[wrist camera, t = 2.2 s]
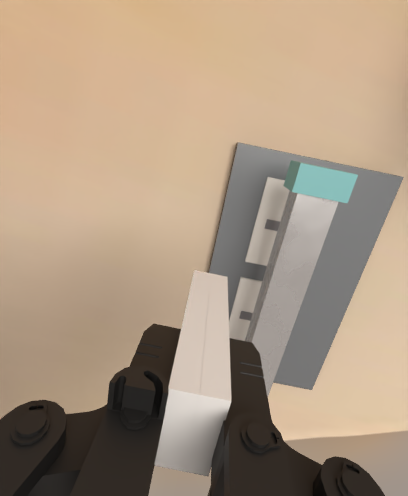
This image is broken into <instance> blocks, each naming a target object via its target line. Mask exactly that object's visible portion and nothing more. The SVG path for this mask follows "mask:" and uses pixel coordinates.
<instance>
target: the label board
mask: <svg viewBox="0 0 408 496" xmlns="http://www.w3.org/2000/svg"><path fill="white" fill-rule="evenodd" d="M291 160H292V161H297V162H302V163H307V164H312V165H316V166H321V167H326V168H331V169H336V170H340V171H345V172H349V173H353V174H357V175H358V177H357V179H356V182H355V185H354V187H353V190H352V193H351V195H350V198H349V201H348V203H343V202H338V205H337V208H336V211H335V213H334V216H333V219H332V222H331V224H330V227H329V230H328V233H327V235H326V238H325V241H324V244H323V246H322V249H321V252H320V255H319V257H318V260H317V263H316V266H315V268H314V271H313V274H312V277H311V279H310V282H309V285H308V288H307V290H306V293H305V296H304V299H303V301H302V304H301V307H300V310H299V312H298V315H297V318H296V321H295V323H294V326H293V329H292V332H291V334H290V337H289V340H288V343H287V345H286V348H285V351H284V354H283V356H282V359H281V362H280V365H279V367H278V370H277V373H276V376H275V378H274V381H273V382H274V383H279V384H284V385H289V386H294V387H299V388H304V389H309V390H312V389H313V386H314V384H315V382H316V379H317V377H318V375H319V372H320V370H321V368H322V365H323V363H324V361H325V358H326V356H327V354H328V351H329V349H330V347H331V344H332V342H333V340H334V337H335V335H336V333H337V331H338V328H339V326H340V324H341V321H342V319H343V317H344V314H345V312H346V310H347V307H348V305H349V303H350V300H351V298H352V296H353V293H354V291H355V289H356V286H357V284H358V282H359V280H360V277H361V275H362V273H363V270H364V268H365V266H366V263H367V261H368V259H369V256H370V254H371V252H372V249H373V247H374V245H375V242H376V240H377V238H378V235H379V233H380V231H381V228H382V226H383V224H384V222H385V219H386V217H387V215H388V212H389V210H390V208H391V205H392V203H393V201H394V198H395V196H396V194H397V191H398V189H399V187H400V184H401V182H402V180H403V177H401V176H396V175H391V174H386V173H382V172H377V171H372V170H367V169H362V168H358V167H353V166H348V165H343V164H339V163H334V162H329V161H324V160H319V159H315V158H310V157H305V156H300V155H295V154H291V153H286V152H281V151H276V150H272V149H267V148H262V147H257V146H252V145H248V144H243V143H237V147H236V152H235V156H234V161H233V165H232V170H231V174H230V179H229V183H228V188H227V192H226V197H225V201H224V206H223V210H222V215H221V219H220V224H219V228H218V233H217V237H216V242H215V246H214V251H213V255H212V260H211V264H210V269H209V273H211V274H216V275H221V276H226V277H227V280H228V311H229V338H232V339H237V340H242V341H245V338H246V335H247V331H248V328H249V325H250V321H251V318H252V315H253V311H254V308H255V304H256V301H257V298H258V294H259V291H260V288H261V284H262V281H263V278H264V274H265V271H266V268H267V264H268V261H269V258H270V254H271V251H272V248H273V244H274V241H275V238H276V234H277V231H278V227H279V224H280V221H281V217H282V214H283V211H284V207H285V204H286V201H287V197H288V194H289V191H290V190H289V189H287V188H286V187H284V182H285V179H286V175H287V172H288V168H289V165H290V162H291Z"/></svg>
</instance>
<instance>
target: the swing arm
mask: <svg viewBox="0 0 408 496" xmlns="http://www.w3.org/2000/svg"><path fill="white" fill-rule="evenodd" d="M357 177H358V175H357V174H353V173H349V172H345V171H340V170H336V169H331V168H326V167H321V166H316V165H312V164H307V163H302V162H297V161H292V160H291V162H290V165H289V168H288V172H287V175H286V179H285V182H284V187H286V188H287V189H289V190H290V191H289V194H288V197H287V201H286V204H285V207H284V211H283V214H282V217H281V221H280V224H279V227H278V231H277V234H276V238H275V241H274V244H273V248H272V251H271V254H270V258H269V261H268V264H267V268H266V271H265V274H264V278H263V281H262V284H261V288H260V291H259V294H258V298H257V301H256V304H255V308H254V311H253V315H252V318H251V321H250V325H249V328H248V331H247V335H246V338H245V341H247V342H252V343H253V344H254V346H255V347H256V349H257V350H258V352H259V353H260V357H261V363H262V369H263V374H264V380H265V386H266V392H267V397H268V395H269V392H270V389H271V386H272V384H273V381H274V378H275V376H276V373H277V370H278V367H279V365H280V362H281V359H282V356H283V354H284V351H285V348H286V345H287V343H288V340H289V337H290V334H291V332H292V329H293V326H294V323H295V321H296V318H297V315H298V312H299V310H300V307H301V304H302V301H303V299H304V296H305V293H306V290H307V288H308V285H309V282H310V279H311V277H312V274H313V271H314V268H315V266H316V263H317V260H318V257H319V255H320V252H321V249H322V246H323V244H324V241H325V238H326V235H327V233H328V230H329V227H330V224H331V222H332V219H333V216H334V213H335V211H336V208H337V205H338V202H343V203H348V201H349V198H350V195H351V193H352V190H353V187H354V185H355V182H356V179H357Z"/></svg>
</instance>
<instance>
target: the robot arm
mask: <svg viewBox="0 0 408 496" xmlns="http://www.w3.org/2000/svg"><path fill="white" fill-rule="evenodd" d="M154 466H158V467H164V468H168V469H174V470H179V471H184V472H189V473H194V474H199V475H204V476H208V475H209V473H210V469H211V466H212V469H211V487H210V490H209V493H208V496H385V495H384V493H383V492H382V490H381V489H380V487H379V486H378V485H377V483H376V482H375V481H374V480H373V478H372V477H371V476H370V474H369V473H367V472H366V471H365V470H364V469H362V468H361V467H360V466H359V465H358V464H356V463H354V462H352V461H350V460H348V459H346V458H341V457H332V458H329V459H326V461H325V462H324V464H323V465H321V464H319V463H317V462H315V461H313V460H311V459H309V458H307V457H305V456H304V455H302V454H300V453H298V452H297V451H295V450H294V449H292V448H291V447H289V446H288V445H287V444H286V443H285V442H284V441H283V438H282V436H281V433H280V432H279V431H278V429H277V428H276V427H275V426H274V424H273V423H272V420H271V415H270V409H269V403H268V398H267V392H266V386H265V380H264V374H263V369H262V363H261V357H260V353H259V352H258V350H257V349H256V347H255V346H254V344H253V343H252V342H247V341H242V340H237V339H232V338H229V311H228V280H227V277H226V276H221V275H216V274H211V273H207V272H202V271H197V270H194V273H193V278H192V283H191V287H190V292H189V296H188V301H187V305H186V310H185V314H184V319H183V323H182V328H181V329H177V328H172V327H167V326H162V325H158V324H153V325H152V326H150V327H149V328H148V329H147V330H146V331H144V333H143V336H142V338H141V340H140V343H139V345H138V348H137V350H136V353H135V355H134V357H133V360H132V362H131V365H130V367H128V368H124V369H123V370H121V371H120V372H118V373H116V374H115V376H114V377H113V378H112V380H111V381H110V383H109V393H108V403H107V405H105V406H104V407H102V408H99V409H97V410H94V411H89V412H83V413H74V414H65V412H64V409H63V408H62V407H61V406H59V405H58V404H57V403H55V402H51V401H47V400H39V401H31V402H28V403H26V404H23V405H20V406H18V407H16V408H15V409H14V410H12V411H11V412H9V413H8V414H6V415H5V416H4V417H3V418H2V419H1V420H0V496H148V494H149V489H150V484H151V479H152V474H153V469H154Z"/></svg>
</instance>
